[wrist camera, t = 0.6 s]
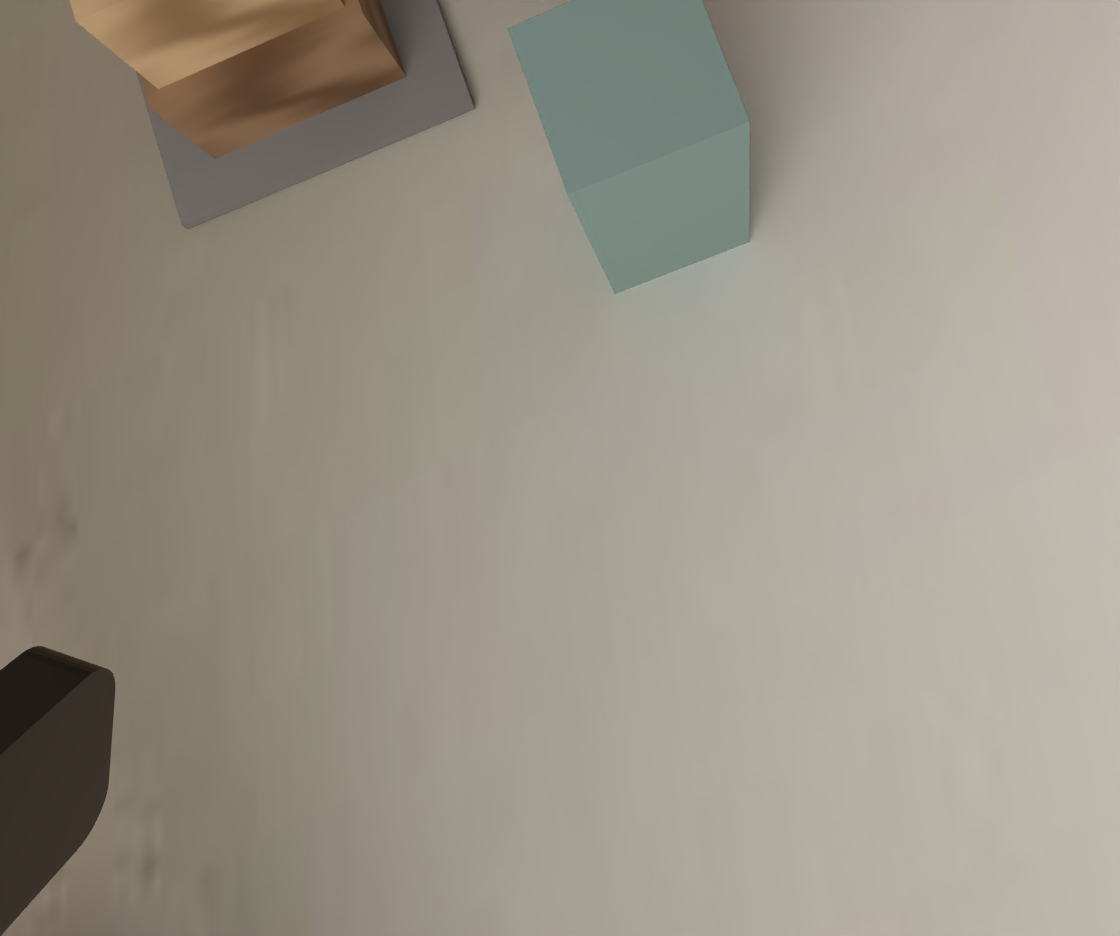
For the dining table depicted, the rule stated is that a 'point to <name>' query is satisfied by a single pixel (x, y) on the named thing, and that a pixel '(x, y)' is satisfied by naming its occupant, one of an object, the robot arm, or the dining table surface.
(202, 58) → the oak block
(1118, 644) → the dining table surface
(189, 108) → the walnut block
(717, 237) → the teal block
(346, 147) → the felt mat
